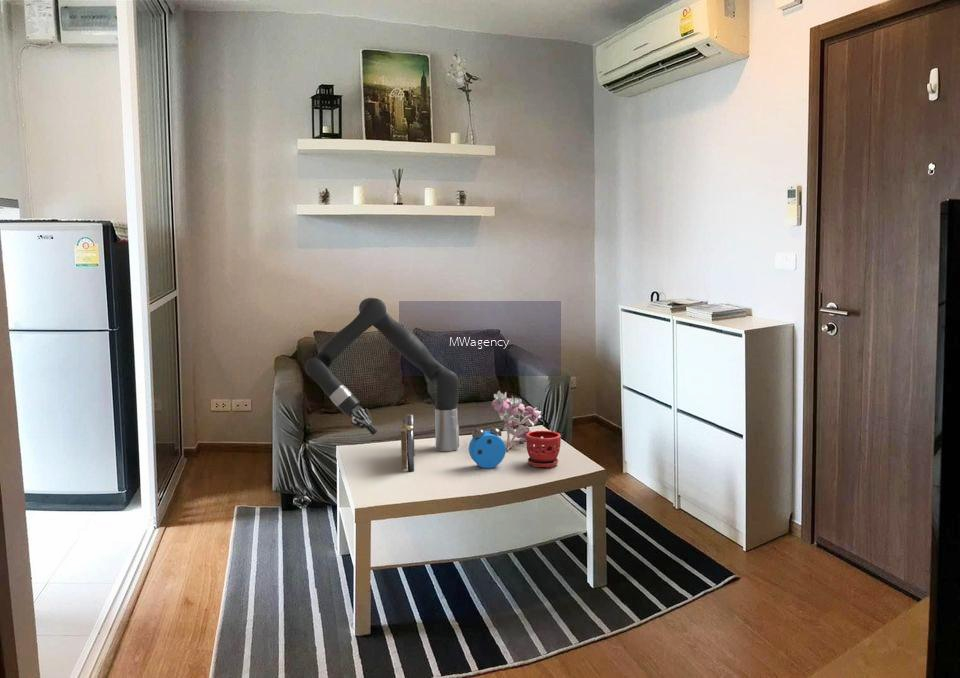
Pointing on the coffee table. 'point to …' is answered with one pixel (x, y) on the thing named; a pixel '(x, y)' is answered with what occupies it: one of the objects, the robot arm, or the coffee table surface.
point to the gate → (404, 445)
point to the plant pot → (543, 448)
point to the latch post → (410, 448)
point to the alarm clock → (487, 447)
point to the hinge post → (411, 422)
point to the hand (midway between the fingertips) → (375, 432)
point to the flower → (504, 407)
